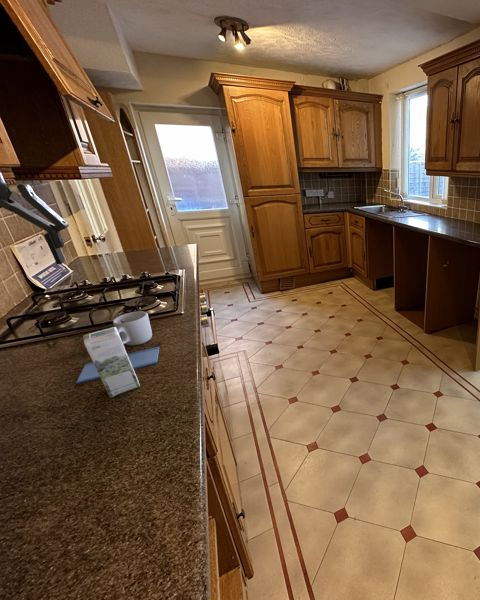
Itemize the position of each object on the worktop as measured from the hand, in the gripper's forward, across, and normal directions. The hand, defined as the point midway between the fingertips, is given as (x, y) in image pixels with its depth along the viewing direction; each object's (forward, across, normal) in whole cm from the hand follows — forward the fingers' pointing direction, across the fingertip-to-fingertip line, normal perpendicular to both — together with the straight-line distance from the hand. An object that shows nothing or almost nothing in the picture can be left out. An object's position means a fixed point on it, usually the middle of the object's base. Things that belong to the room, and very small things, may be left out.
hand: (17, 267), depth 68 cm
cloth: (+29, +9, +1) cm, 30 cm away
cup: (+29, +11, +12) cm, 33 cm away
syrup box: (+29, +12, -11) cm, 33 cm away
